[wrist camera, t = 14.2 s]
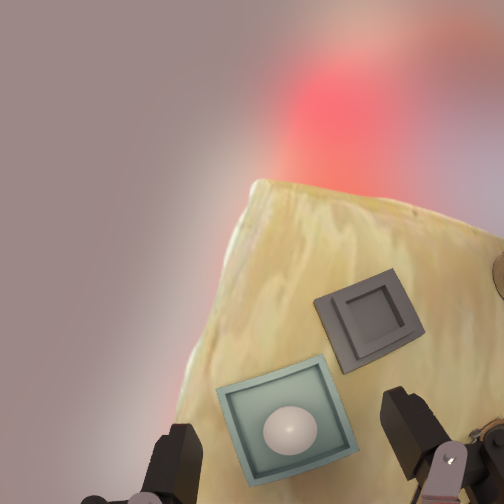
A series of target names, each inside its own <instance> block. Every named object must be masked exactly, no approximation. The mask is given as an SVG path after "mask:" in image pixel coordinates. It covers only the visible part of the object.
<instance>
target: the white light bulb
mask: <svg viewBox="0 0 504 504" xmlns="http://www.w3.org/2000/svg"><path fill="white" fill-rule="evenodd" d="M316 435H317V424H316V421H315V419H314V418H313V416H312V415H311V414H310V413H309V412H307V411H306V410H304V409H302V408H299V407H295V406H283V407H280V408H278V409H277V410H276V411H274V412H273V413H272V414H271V415H270V416H269V417H268V419H267V420H266V422H265V425H264V429H263V436H264V440H265V442H266V444H267V445H268V446H269V447H270V448H271V449H272V450H273V451H275V452H277V453H279V454H282V455H296V454H299V453H302V452H304V451H305V450H307V449H308V448H309V447H310V446H311V445H312V444H313V442H314V441H315V438H316Z"/></svg>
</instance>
